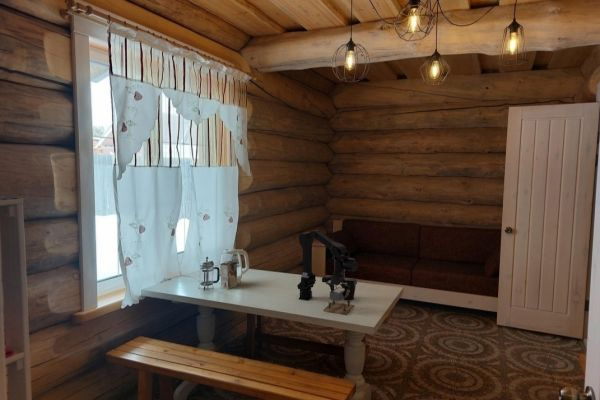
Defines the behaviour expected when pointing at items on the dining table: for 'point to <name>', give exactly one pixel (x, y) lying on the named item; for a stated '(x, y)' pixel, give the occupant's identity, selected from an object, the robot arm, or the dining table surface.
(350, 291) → the coffee mug
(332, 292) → the drive
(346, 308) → the wooden peg board
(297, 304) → the dining table surface
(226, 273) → the coffee box
